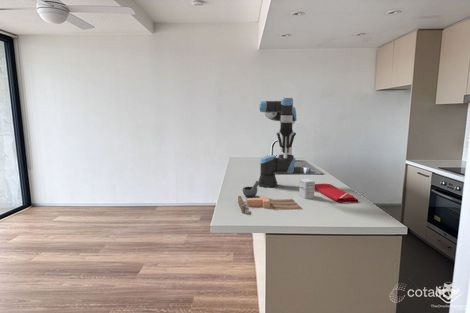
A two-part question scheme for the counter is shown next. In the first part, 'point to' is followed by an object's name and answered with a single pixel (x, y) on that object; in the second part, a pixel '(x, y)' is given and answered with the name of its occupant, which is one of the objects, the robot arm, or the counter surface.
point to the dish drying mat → (335, 193)
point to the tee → (258, 202)
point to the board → (276, 205)
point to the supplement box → (306, 188)
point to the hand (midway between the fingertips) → (285, 157)
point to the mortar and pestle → (250, 190)
